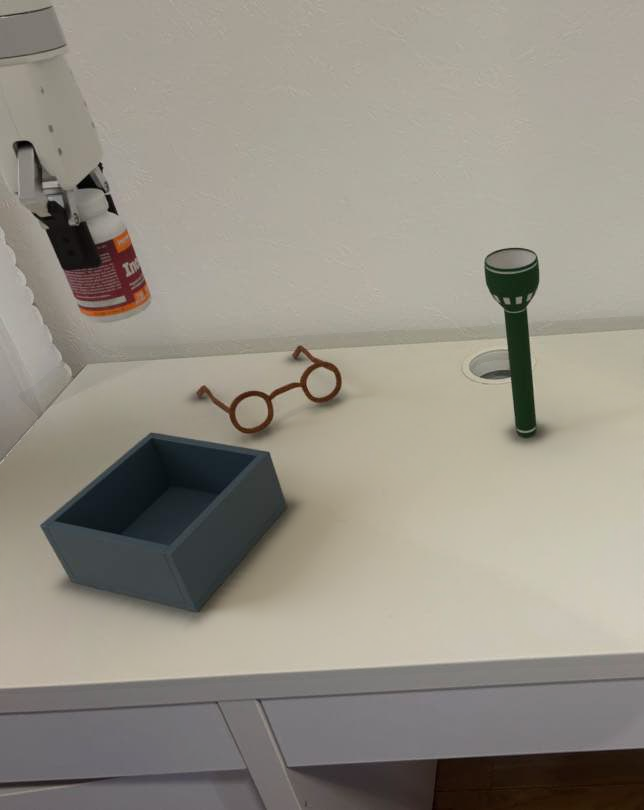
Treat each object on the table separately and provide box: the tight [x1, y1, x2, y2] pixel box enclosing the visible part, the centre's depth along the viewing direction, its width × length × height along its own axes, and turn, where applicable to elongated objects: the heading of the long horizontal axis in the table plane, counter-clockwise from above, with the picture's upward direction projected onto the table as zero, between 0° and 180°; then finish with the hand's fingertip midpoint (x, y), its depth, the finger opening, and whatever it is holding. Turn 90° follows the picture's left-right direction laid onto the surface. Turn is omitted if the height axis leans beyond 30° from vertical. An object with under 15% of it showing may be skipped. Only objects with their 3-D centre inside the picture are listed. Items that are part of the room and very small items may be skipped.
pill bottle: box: [48, 188, 152, 324], centre depth 73 cm, size 6×6×11 cm
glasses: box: [196, 344, 343, 435], centre depth 93 cm, size 13×13×5 cm
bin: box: [39, 431, 288, 613], centre depth 72 cm, size 14×14×7 cm
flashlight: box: [483, 247, 540, 439], centre depth 79 cm, size 5×5×20 cm
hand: (95, 250), depth 72 cm, fingers closed on pill bottle, 6 cm apart
